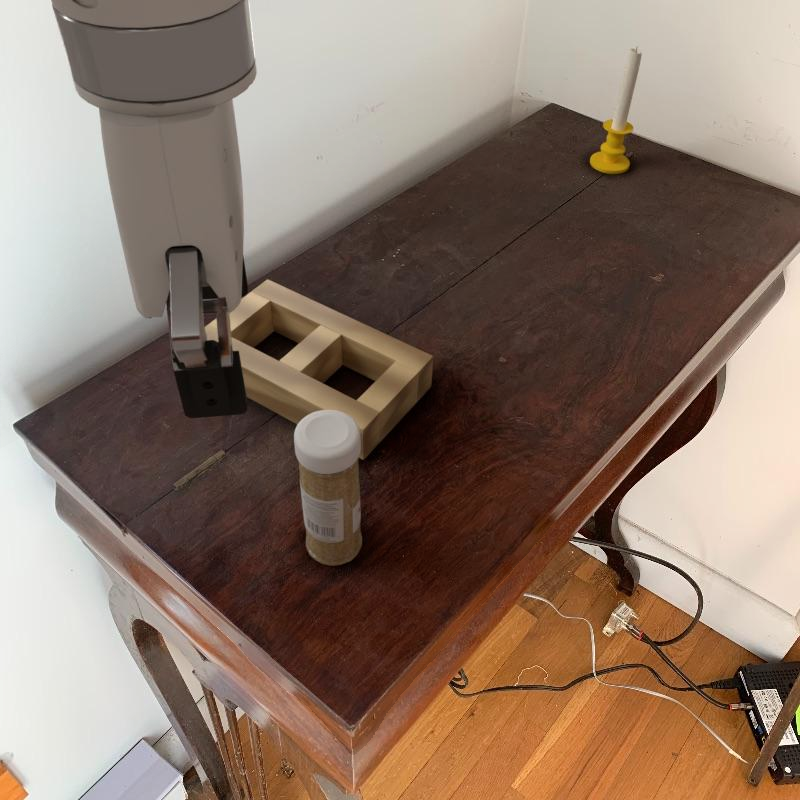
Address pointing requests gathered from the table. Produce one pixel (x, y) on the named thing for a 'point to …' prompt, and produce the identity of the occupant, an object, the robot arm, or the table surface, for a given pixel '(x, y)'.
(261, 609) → the table surface
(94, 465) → the table surface
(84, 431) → the table surface
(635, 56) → the candle
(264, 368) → the holder
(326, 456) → the sprinkles bottle
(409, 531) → the table surface
